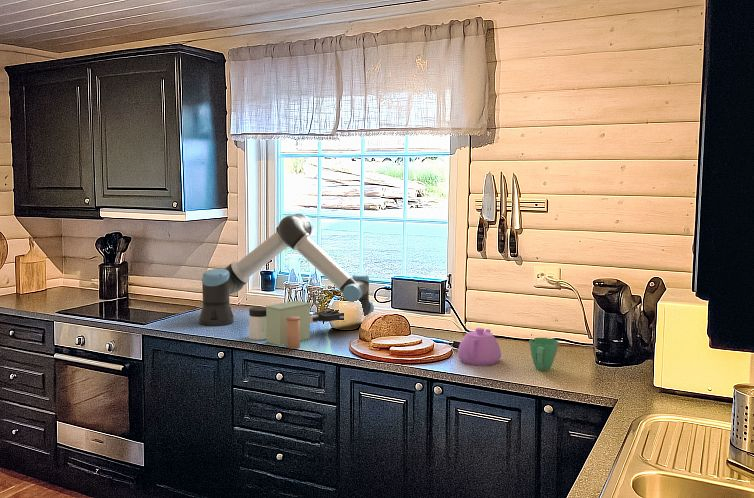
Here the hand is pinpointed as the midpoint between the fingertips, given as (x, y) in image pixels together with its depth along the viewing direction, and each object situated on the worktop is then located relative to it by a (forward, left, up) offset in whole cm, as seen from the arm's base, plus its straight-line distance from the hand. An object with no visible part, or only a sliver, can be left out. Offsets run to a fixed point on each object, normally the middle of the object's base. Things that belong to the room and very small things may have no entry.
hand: (305, 320), depth 286 cm
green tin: (0, -9, -7) cm, 11 cm away
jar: (-12, -14, -7) cm, 20 cm away
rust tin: (+9, -15, -7) cm, 19 cm away
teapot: (+73, +18, -7) cm, 75 cm away
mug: (+96, +22, -7) cm, 99 cm away
